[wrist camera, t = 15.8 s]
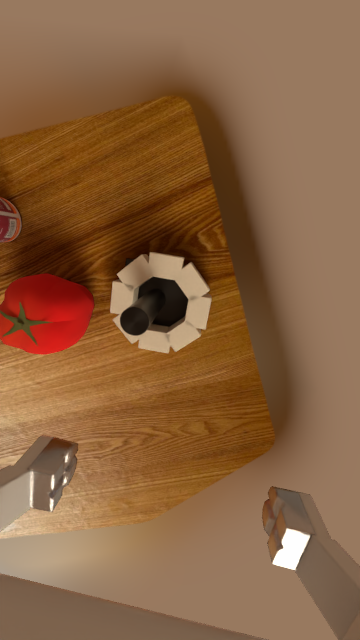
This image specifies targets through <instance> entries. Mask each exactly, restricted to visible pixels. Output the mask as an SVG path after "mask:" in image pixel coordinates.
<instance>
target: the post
mask: <svg viewBox="0 0 360 640" xmlns="http://www.w3.org/2000/svg"><path fill="white" fill-rule="evenodd" d="M134 260H135V259H130V258H127V259H126V266H127V265H129V264H130V263H131V262H133V261H134ZM126 266H125V267H126ZM187 305H188V298H187V297H186V295H185V294H184V292H183V291H182V290H181V288H180V287H179V285H178V284H177V283H176V281H175V280H170V279H164V278H159V277H152V278H150V279H149V280H148V281H146V282H145V283H144V284H142V285H141V286H140V287H139V293H138V300H137V301H136V302H134V303H133V304H132V305H130V306H129V307H128V308H127V309H125V310H124V311H123V312H122V314H121V316H120V324H121V327H122V329H123V330H124V331H125V332H126V333H128V334H130V335H133V336H138V335H141V334H143V333H145V332H146V331H147V329H148V328H149V326H150V325H151V324H156V325H161V326H167V327H170V326H171V325H173V324H174V323H176V322H177V321H179V320H180V319H182V318H183V317H185V316H186V310H187Z"/></svg>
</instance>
